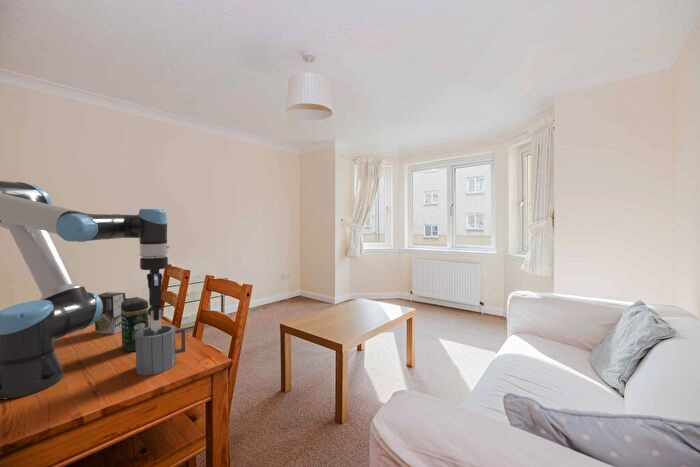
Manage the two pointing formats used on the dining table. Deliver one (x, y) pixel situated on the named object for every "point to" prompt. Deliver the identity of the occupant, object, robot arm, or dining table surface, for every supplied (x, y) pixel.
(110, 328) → the coffee box
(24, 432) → the dining table surface
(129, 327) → the coffee jar
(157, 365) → the grey ribbed mug
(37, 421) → the dining table surface
